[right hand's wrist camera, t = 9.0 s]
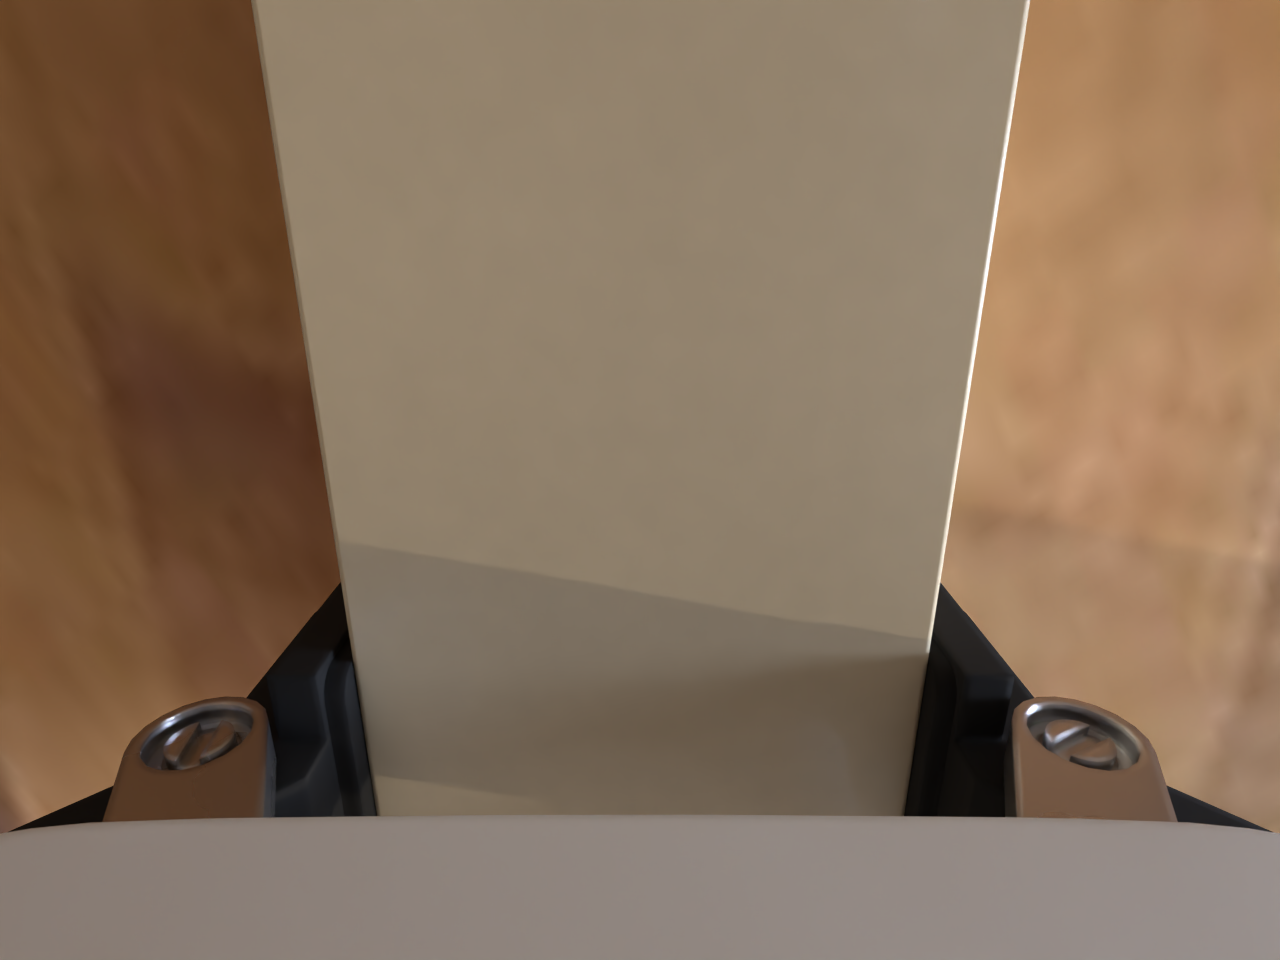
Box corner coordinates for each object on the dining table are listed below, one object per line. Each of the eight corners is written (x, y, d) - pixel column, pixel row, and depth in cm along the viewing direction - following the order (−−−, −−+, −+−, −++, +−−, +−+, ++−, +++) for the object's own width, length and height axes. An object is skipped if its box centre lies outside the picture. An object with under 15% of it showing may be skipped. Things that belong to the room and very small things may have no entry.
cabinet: (414, -601, 10) (-187, -2762, 3) (866, -602, 10) (1468, -2762, 3) (506, 677, 17) (407, 1029, 10) (773, 678, 17) (873, 1029, 10)
